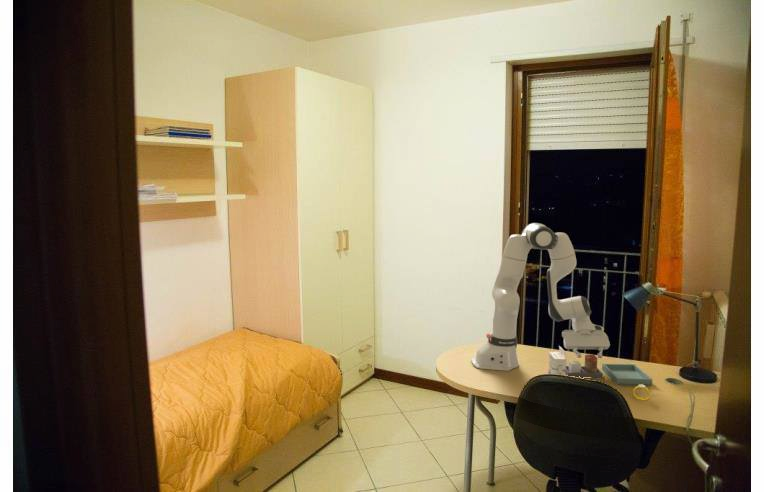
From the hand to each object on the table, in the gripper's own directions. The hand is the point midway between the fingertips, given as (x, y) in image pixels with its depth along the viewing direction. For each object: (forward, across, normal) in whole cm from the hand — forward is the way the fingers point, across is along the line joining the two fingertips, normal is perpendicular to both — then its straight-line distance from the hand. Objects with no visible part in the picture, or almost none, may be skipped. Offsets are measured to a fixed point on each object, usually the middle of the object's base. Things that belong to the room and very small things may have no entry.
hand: (589, 357), depth 217 cm
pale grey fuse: (+7, -7, +4) cm, 11 cm away
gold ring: (+23, +12, -12) cm, 29 cm away
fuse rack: (+7, -4, +4) cm, 9 cm away
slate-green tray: (+8, +15, +2) cm, 17 cm away
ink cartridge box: (+11, -17, 0) cm, 21 cm away
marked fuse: (+7, 0, +4) cm, 8 cm away
